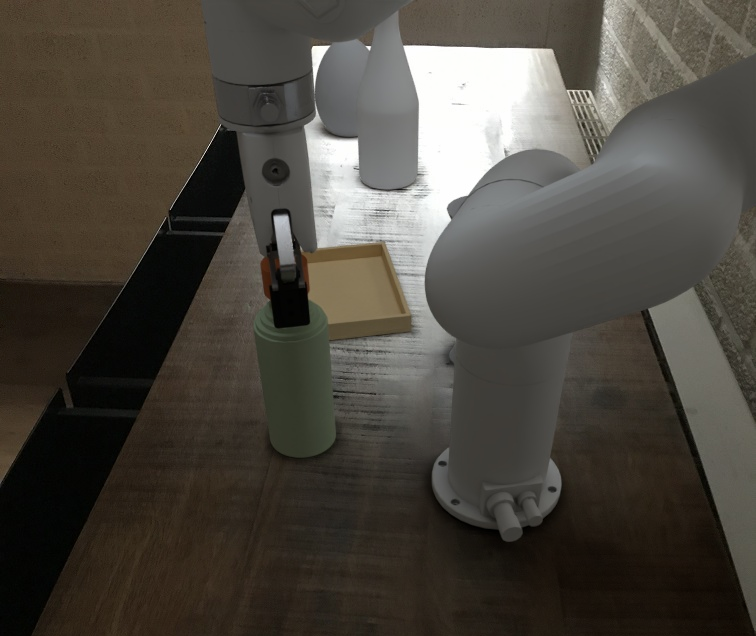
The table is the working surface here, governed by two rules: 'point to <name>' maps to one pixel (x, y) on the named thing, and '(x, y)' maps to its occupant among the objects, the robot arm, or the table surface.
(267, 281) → the cap
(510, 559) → the table surface
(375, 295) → the tray
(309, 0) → the robot arm
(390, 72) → the wine bottle
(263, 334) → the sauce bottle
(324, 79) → the decorative egg
